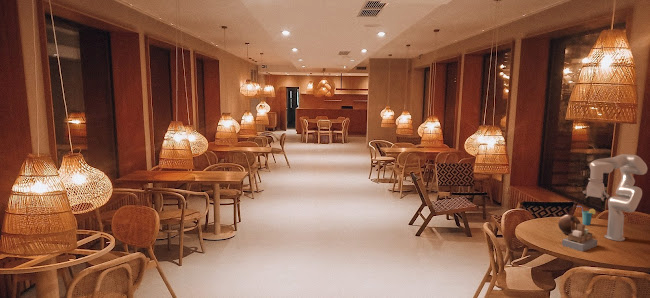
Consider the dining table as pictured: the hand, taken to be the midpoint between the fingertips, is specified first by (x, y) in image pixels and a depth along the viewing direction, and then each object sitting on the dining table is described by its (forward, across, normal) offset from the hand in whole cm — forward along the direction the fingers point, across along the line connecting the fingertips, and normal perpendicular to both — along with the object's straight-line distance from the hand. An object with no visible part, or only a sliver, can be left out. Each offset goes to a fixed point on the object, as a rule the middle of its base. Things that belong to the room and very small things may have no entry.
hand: (595, 204), depth 298 cm
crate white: (+22, -4, -15) cm, 27 cm away
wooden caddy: (+25, -4, -11) cm, 27 cm away
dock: (+29, -4, -11) cm, 31 cm away
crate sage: (+22, -4, -6) cm, 23 cm away
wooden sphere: (+30, -22, +9) cm, 38 cm away
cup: (+31, -28, +46) cm, 62 cm away
